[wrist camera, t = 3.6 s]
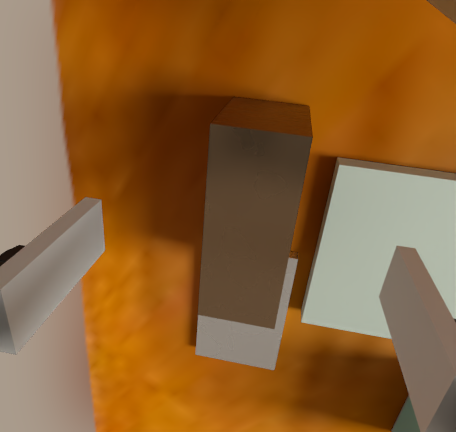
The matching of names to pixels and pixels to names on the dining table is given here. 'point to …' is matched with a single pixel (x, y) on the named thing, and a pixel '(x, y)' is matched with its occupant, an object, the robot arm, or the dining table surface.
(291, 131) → the brown grey long block
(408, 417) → the tile
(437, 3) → the ice cream cone
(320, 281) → the board
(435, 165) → the dining table surface
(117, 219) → the dining table surface
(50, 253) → the robot arm
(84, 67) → the dining table surface
